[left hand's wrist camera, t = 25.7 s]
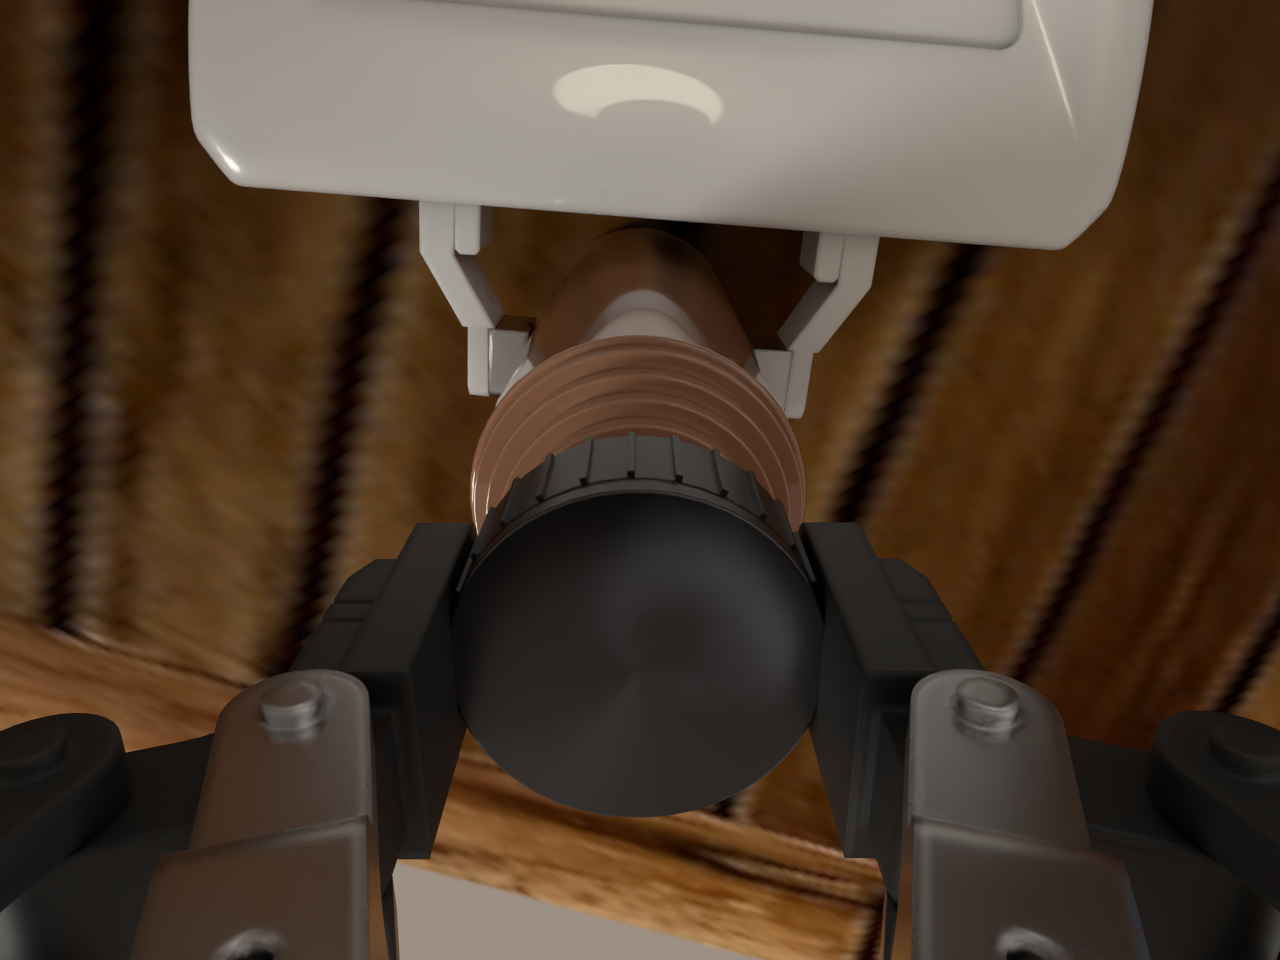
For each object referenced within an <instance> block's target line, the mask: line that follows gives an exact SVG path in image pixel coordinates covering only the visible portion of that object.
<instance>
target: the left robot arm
mask: <svg viewBox="0 0 1280 960" xmlns="http://www.w3.org/2000/svg"><path fill="white" fill-rule="evenodd" d="M798 533H799V536H800V539H801V541H802V544H803V546H804V549H805V552H806V554H807V557H808V559H809V562H810V565H811V567H812V570H813V572H814V575H815V578H816V580H817V583H818V586H816V587H814V591H815V593H816V596H817V599H818V601H819V604H820V607H821V609H822V612H823V616H824V638H823V650H822V662H821V673H820V685H819V696H818V706H817V710H816V712H815V714H814V717H813V719H812V721H811V722H810V724H809V726H808V727H809V731H810V735H811V738H812V742H813V745H814V749H815V753H816V756H817V760H818V763H819V767H820V771H821V774H822V778H823V782H824V785H825V789H826V792H827V796H828V800H829V803H830V807H831V810H832V814H833V818H834V821H835V825H836V829H837V832H838V836H839V839H840V843H841V847H842V850H843V854H844V857H845V858H876V859H877V862H878V865H879V868H880V871H881V874H882V877H883V881H884V883H885V886H886V893H885V900H884V908H883V924H882V942H881V959H880V960H1278V959H1277V956H1278V953H1279V950H1280V731H1279V730H1277V729H1275V728H1272V727H1270V726H1267V725H1265V724H1262V723H1260V722H1257V721H1254V720H1251V719H1247V718H1244V717H1240V716H1236V715H1232V714H1227V713H1220V712H1213V711H1187V712H1180V713H1177V714H1174V715H1170V716H1169V717H1167V718H1165V719H1164V720H1163V721H1162V722H1161V723H1160V724H1159V725H1158V727H1157V730H1156V733H1155V737H1154V741H1153V745H1152V749H1151V752H1146V751H1141V750H1136V749H1131V748H1126V747H1121V746H1116V745H1111V744H1106V743H1101V742H1096V741H1091V740H1086V739H1082V738H1078V737H1074V736H1071V735H1068V734H1066V733H1065V728H1064V724H1063V720H1062V718H1061V715H1060V713H1059V712H1058V710H1057V709H1056V707H1055V706H1054V705H1053V704H1052V703H1051V702H1050V701H1049V700H1048V699H1047V698H1046V697H1044V696H1043V695H1042V694H1041V693H1039V692H1038V691H1036V690H1034V689H1033V688H1031V687H1030V686H1028V685H1025V684H1023V683H1021V682H1019V681H1017V680H1014V679H1012V678H1009V677H1006V676H1003V675H999V674H996V673H991V672H986V671H985V669H984V667H983V666H982V664H981V663H980V661H979V659H978V658H977V656H976V655H975V653H974V651H973V650H972V648H971V647H970V645H969V643H968V642H967V640H966V639H965V637H964V635H963V634H962V632H961V631H960V629H959V628H958V626H957V624H956V623H955V622H952V616H951V615H950V613H949V612H948V610H947V608H946V607H945V605H944V604H943V603H941V599H940V597H939V596H938V594H937V592H936V591H935V589H934V588H933V586H932V585H931V583H930V581H929V580H928V578H927V577H926V576H924V575H923V574H921V573H920V572H918V571H917V570H915V569H914V568H912V567H911V566H909V565H908V564H906V563H905V562H904V561H902V560H901V559H878V558H877V556H876V554H875V552H874V551H873V549H872V547H871V545H870V543H869V541H868V539H867V538H866V536H865V534H864V532H863V530H862V528H861V527H860V525H859V524H858V523H801V524H800V527H799V530H798ZM477 538H478V534H477V530H476V526H475V524H474V523H418V524H416V526H415V527H414V529H413V531H412V533H411V534H410V536H409V538H408V540H407V542H406V543H405V545H404V547H403V549H402V551H401V552H400V554H399V556H398V558H397V559H375V560H374V561H372V562H371V563H369V564H368V565H366V566H365V567H363V568H362V569H360V570H359V571H357V572H356V573H354V574H353V575H351V576H350V577H349V578H347V580H346V582H345V583H344V585H343V586H342V588H341V589H340V591H339V593H338V594H337V596H336V597H335V599H334V604H331V605H330V607H329V608H328V610H327V611H326V613H325V614H324V616H323V618H322V623H319V624H318V625H317V627H316V629H315V630H314V632H313V633H312V635H311V636H310V638H309V640H308V641H307V643H306V644H305V646H304V647H303V649H302V650H301V652H300V654H299V655H298V657H297V658H296V660H295V661H294V663H293V665H292V666H291V668H290V669H289V671H288V672H287V673H284V674H281V675H277V676H274V677H271V678H268V679H266V680H263V681H261V682H259V683H257V684H255V685H252V686H250V687H249V688H247V689H246V690H244V691H242V692H241V693H239V694H238V695H237V696H236V697H234V698H233V699H232V700H231V701H230V702H229V703H228V704H227V705H226V706H225V707H224V709H223V710H222V712H221V713H220V715H219V718H218V720H217V724H216V728H215V733H212V734H209V735H206V736H203V737H199V738H195V739H191V740H187V741H183V742H178V743H173V744H168V745H163V746H158V747H152V748H147V749H142V750H137V751H132V752H127V753H125V749H124V745H123V741H122V737H121V733H120V731H119V728H118V727H117V725H116V724H115V723H114V722H112V721H111V720H109V719H107V718H105V717H102V716H99V715H94V714H88V713H68V714H58V715H52V716H46V717H42V718H38V719H34V720H30V721H27V722H24V723H21V724H18V725H15V726H12V727H10V728H7V729H5V730H2V731H0V960H399V942H398V924H397V908H396V900H395V893H394V885H393V878H392V874H393V870H394V868H395V864H396V861H397V859H429V858H430V855H431V851H432V848H433V844H434V841H435V837H436V834H437V830H438V827H439V823H440V820H441V816H442V813H443V809H444V806H445V802H446V799H447V795H448V792H449V788H450V785H451V781H452V778H453V774H454V770H455V767H456V763H457V760H458V756H459V753H460V749H461V746H462V742H463V739H464V735H465V732H466V728H467V726H466V724H465V722H464V721H463V719H462V717H461V714H460V712H459V710H458V706H457V697H456V685H455V674H454V663H453V651H452V640H451V627H450V621H451V616H452V611H453V609H454V606H455V603H456V601H457V598H458V597H456V589H457V586H458V584H459V581H460V578H461V576H462V573H463V571H464V568H465V566H466V563H467V560H468V558H469V555H470V553H471V550H472V548H473V545H474V543H475V540H476V541H477Z"/></svg>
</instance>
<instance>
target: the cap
mask: <svg viewBox="0 0 1280 960" xmlns="http://www.w3.org/2000/svg"><path fill="white" fill-rule="evenodd" d="M816 586H818V583H817V580H816V578H815V575H814V572H813V570H812V567H811V565H810V562H809V559H808V557H807V554H806V552H805V549H804V546H803V544H802V541H801V539H800V536H799V533H798V531H796V532H793V531H792V529H791V526H790V523H789V521H788V518H787V515H786V513H785V510H784V507H783V505H782V502H781V501H780V499H779V498H777V499H775V500H774V499H773V498H772V497H771V495H770V494H769V493H768V491H767V490H765V489H764V488H763V487H762V486H761V485H760V484H759V483H758V482H757V480H756V477H755V474H754V472H753V471H751V470H750V469H749V470H748V471H747V472H746V471H744V470H743V469H742V468H740V467H739V466H738V465H736V464H735V463H733V462H731V461H729V460H728V459H726V458H724V457H722V456H721V455H720V451H719V450H718V449H716V448H713V450H712V451H710V450H707V449H705V448H702V447H700V446H697V445H695V444H691V443H687V442H683V441H679V436H675V435H672V438H671V439H670V438H664V437H655V436H636V435H635V432H629V434H628V436H621V437H613V438H604V439H600V440H596V441H593V439H592V437H591V438H587V439H586V440H585V443H584V444H581V445H578V446H576V447H573V448H571V449H568V450H565V451H563V452H560V453H559V454H557V455H555V456H554V455H553V454H552V453H550V454H548V455H546V458H545V461H544V462H542V463H541V464H539V465H538V466H537V467H535V468H534V469H532V470H531V471H530V472H528V473H527V474H526V475H524V476H523V477H522V478H521V479H520V478H519V477H518V476H517V477H516V478H515V479H514V480H513V482H512V485H511V487H510V490H509V491H508V492H507V493H506V495H505V496H504V497H503V499H502V500H501V501H500V502H499V504H498V505H497V506H496V508H494V507H492V506H491V507H490V509H489V510H488V513H487V515H486V518H485V520H484V523H483V525H482V528H481V530H480V533H479V536H478V538H477V541H476V540H475V543H474V545H473V548H472V550H471V553H470V555H469V558H468V560H467V563H466V566H465V568H464V571H463V573H462V576H461V578H460V581H459V584H458V586H457V589H456V597H458V598H457V601H456V603H455V606H454V609H453V611H452V616H451V621H450V627H451V640H452V651H453V663H454V674H455V685H456V697H457V706H458V710H459V712H460V714H461V717H462V719H463V721H464V722H465V724H466V726H467V727H468V729H469V731H470V733H471V734H472V736H473V737H474V739H475V740H476V741H477V742H478V744H479V745H480V746H481V748H482V749H483V750H484V751H485V753H486V754H487V755H488V756H489V757H490V758H491V759H492V760H493V761H494V762H495V763H496V764H497V765H498V766H499V767H500V768H501V769H503V770H504V771H505V772H507V773H508V774H509V775H510V776H512V777H513V778H514V779H516V780H517V781H518V782H520V783H521V784H523V785H525V786H526V787H528V788H530V789H531V790H533V791H535V792H536V793H538V794H540V795H542V796H545V797H547V798H549V799H551V800H553V801H556V802H558V803H560V804H564V805H567V806H570V807H573V808H576V809H579V810H583V811H587V812H592V813H597V814H601V815H609V816H619V817H656V816H666V815H674V814H679V813H683V812H688V811H693V810H696V809H699V808H703V807H706V806H709V805H712V804H715V803H717V802H720V801H722V800H724V799H726V798H728V797H731V796H733V795H735V794H737V793H739V792H740V791H742V790H744V789H746V788H747V787H749V786H751V785H752V784H754V783H756V782H757V781H758V780H760V779H761V778H762V777H763V776H765V775H766V774H767V773H769V772H770V771H771V770H773V769H774V768H775V767H776V766H777V765H778V764H779V763H780V762H781V761H782V760H783V759H784V758H785V757H786V756H787V755H788V754H789V753H790V751H791V750H792V749H793V748H794V746H795V745H796V744H797V743H798V741H799V740H800V739H801V737H802V736H803V734H804V733H805V731H806V729H807V727H808V726H809V724H810V722H811V721H812V719H813V717H814V714H815V712H816V710H817V706H818V696H819V685H820V673H821V662H822V650H823V638H824V616H823V612H822V609H821V607H820V604H819V601H818V599H817V596H816V593H815V591H814V587H816Z"/></svg>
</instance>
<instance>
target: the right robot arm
mask: <svg viewBox="0 0 1280 960" xmlns="http://www.w3.org/2000/svg"><path fill="white" fill-rule="evenodd" d="M1153 4H1154V0H189V13H188V52H189V86H190V105H191V118H192V123H193V128H194V132H195V134H196V137H197V139H198V141H199V142H200V144H201V145H202V146H203V148H204V149H205V150H206V151H207V153H208V154H209V155H210V157H211V158H212V159H213V160H214V162H215V163H216V164H217V166H218V167H219V168H220V169H221V171H222V172H223V173H224V174H225V175H226V176H227V177H228V178H229V180H230V181H232V182H233V183H235V184H237V185H239V186H245V187H255V188H268V189H280V190H293V191H306V192H318V193H331V194H344V195H357V196H369V197H382V198H395V199H407V200H419V220H420V253H421V255H422V256H423V258H424V260H425V262H426V263H427V265H428V267H429V268H430V270H431V272H432V274H433V275H434V277H435V279H436V281H437V282H438V284H439V286H440V288H441V289H442V291H443V293H444V295H445V296H446V298H447V300H448V302H449V303H450V305H451V307H452V308H453V310H454V312H455V314H456V315H457V317H458V319H459V321H460V322H461V324H462V326H465V327H468V389H469V393H470V394H473V395H481V396H500V395H501V393H502V391H503V389H504V387H505V385H506V383H507V381H508V379H509V378H510V376H511V374H512V372H513V370H514V368H515V366H516V364H517V362H518V360H519V358H520V356H521V354H522V352H523V350H524V348H525V346H526V344H527V342H528V340H529V338H530V336H531V334H532V332H533V330H534V329H535V327H536V318H532V317H522V316H512V315H504V314H505V312H504V310H503V308H502V306H501V304H500V302H499V300H498V298H497V297H496V295H495V293H494V291H493V289H492V287H491V285H490V283H489V281H488V279H487V277H486V275H485V273H484V271H483V269H482V267H481V265H480V263H479V261H478V259H477V257H476V254H477V253H478V252H479V251H481V250H482V249H483V248H484V247H485V246H487V245H488V244H489V243H490V242H491V241H493V231H494V206H496V207H509V208H522V209H535V210H547V211H560V212H573V213H585V214H598V215H611V216H624V217H636V218H649V219H662V220H674V221H687V222H700V223H712V224H725V225H738V226H751V227H763V228H776V229H789V230H801V231H803V238H802V246H801V254H800V262H799V264H800V265H801V267H802V268H803V269H804V270H805V271H806V272H808V273H809V274H810V275H811V276H812V277H813V278H815V281H814V282H813V284H812V285H811V286H810V288H809V289H808V291H807V292H806V293H805V295H804V296H803V298H802V299H801V300H800V302H799V303H798V304H797V306H796V307H795V309H794V310H793V311H792V313H791V314H790V316H789V317H788V318H787V320H786V321H785V323H784V324H783V325H782V327H781V328H780V330H779V331H778V332H777V335H761V334H746V336H747V338H748V340H749V342H750V344H751V346H752V348H753V350H754V352H755V354H756V356H757V358H758V360H759V362H760V364H761V366H762V368H763V370H764V372H765V374H766V376H767V378H768V380H769V382H770V384H771V386H772V388H773V390H774V392H775V394H776V396H777V398H778V400H779V402H780V404H781V406H782V408H783V410H784V412H785V414H786V416H787V418H797V419H800V418H801V417H802V415H803V412H804V409H805V404H806V398H807V391H808V384H809V378H810V371H811V364H812V358H813V353H819V352H820V350H821V349H822V348H823V347H824V345H825V344H826V343H827V342H828V340H829V339H830V338H831V337H832V335H833V334H834V333H835V332H836V330H837V329H838V328H839V327H840V325H841V324H842V323H843V322H844V320H845V319H846V318H847V317H848V315H849V314H850V313H851V312H852V310H853V309H854V308H855V307H856V305H857V304H858V303H859V302H860V300H861V299H862V298H863V297H864V295H865V294H866V293H867V292H868V290H869V289H870V288H871V284H872V279H873V273H874V267H875V261H876V256H877V250H878V244H879V238H880V237H890V238H903V239H916V240H929V241H941V242H954V243H967V244H979V245H992V246H1005V247H1018V248H1031V249H1044V250H1060V249H1063V248H1065V247H1067V246H1068V245H1070V244H1071V243H1072V242H1073V241H1074V240H1075V239H1077V238H1078V237H1079V236H1080V235H1081V234H1082V233H1083V232H1084V231H1085V230H1086V229H1087V228H1088V227H1089V226H1090V225H1091V224H1092V223H1093V222H1094V221H1095V220H1096V219H1097V218H1098V217H1099V216H1100V215H1101V214H1102V213H1103V212H1104V211H1105V210H1106V209H1107V207H1108V206H1109V204H1110V202H1111V200H1112V198H1113V195H1114V193H1115V190H1116V188H1117V185H1118V181H1119V178H1120V175H1121V171H1122V167H1123V163H1124V159H1125V155H1126V151H1127V147H1128V144H1129V139H1130V135H1131V130H1132V126H1133V121H1134V117H1135V112H1136V107H1137V102H1138V97H1139V92H1140V87H1141V82H1142V76H1143V70H1144V64H1145V58H1146V52H1147V46H1148V40H1149V33H1150V25H1151V18H1152V11H1153Z"/></svg>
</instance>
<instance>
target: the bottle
mask: <svg viewBox="0 0 1280 960" xmlns="http://www.w3.org/2000/svg"><path fill="white" fill-rule="evenodd" d="M629 432H635V435H636V436H655V437H664V438H670V439H671V438H672V435H675V436H679V441H683V442H687V443H691V444H695V445H697V446H700V447H702V448H705V449H707V450H710V451H712V450H713V448H716V449H718V450H719V451H720V455H721V456H722V457H724V458H726V459H728V460H729V461H731V462H733V463H735V464H736V465H738V466H739V467H740V468H742V469H743V470H744V471H746V472H747V471H748V470H749V469H750V470H751V471H753V472H754V474H755V477H756V480H757V482H758V483H759V484H760V485H761V486H762V487H763V488H764V489H765V490H767V491H768V493H769V494H770V495H771V497H772V498H773V499H774V500H775V499H777V498H779V499H780V501H781V502H782V505H783V507H784V510H785V513H786V515H787V518H788V521H789V523H790V526H791V529H792V531H793V532H796V531H798V530H799V527H800V524H801V523H803V520H804V513H805V507H806V484H807V483H806V475H805V467H804V461H803V457H802V453H801V450H800V446H799V442H798V440H797V438H796V435H795V433H794V431H793V429H792V426H791V424H790V422H789V420H788V418H787V416H786V414H785V412H784V410H783V408H782V406H781V404H780V402H779V400H778V398H777V396H776V394H775V392H774V390H773V388H772V386H771V384H770V382H769V380H768V378H767V376H766V374H765V372H764V370H763V368H762V366H761V364H760V362H759V360H758V358H757V356H756V354H755V352H754V350H753V348H752V346H751V344H750V342H749V340H748V338H747V336H746V334H745V332H744V330H743V328H742V326H741V324H740V322H739V320H738V318H737V316H736V314H735V312H734V310H733V308H732V306H731V304H730V302H729V300H728V298H727V296H726V294H725V292H724V290H723V288H722V286H721V284H720V282H719V280H718V278H717V276H716V274H715V272H714V270H713V269H712V267H711V265H710V264H709V263H708V262H707V260H706V259H705V258H704V257H703V255H702V254H701V253H699V252H698V251H697V250H696V249H695V248H694V247H693V246H691V245H690V244H689V243H687V242H686V241H684V240H682V239H681V238H679V237H677V236H675V235H672V234H670V233H667V232H664V231H660V230H656V229H650V228H628V229H622V230H617V231H614V232H611V233H608V234H605V235H603V236H601V237H599V238H597V239H595V240H594V241H592V242H591V243H589V244H588V245H586V246H585V247H584V248H583V249H582V250H581V251H580V252H578V253H577V254H576V256H575V257H574V258H573V259H572V260H571V261H570V263H569V264H568V266H567V267H566V269H565V270H564V272H563V274H562V276H561V278H560V280H559V281H558V283H557V285H556V287H555V289H554V291H553V293H552V295H551V297H550V299H549V301H548V303H547V305H546V307H545V309H544V311H543V313H542V315H541V317H540V319H539V321H538V323H537V325H536V327H535V329H534V330H533V332H532V334H531V336H530V338H529V340H528V342H527V344H526V346H525V348H524V350H523V352H522V354H521V356H520V358H519V360H518V362H517V364H516V366H515V368H514V370H513V372H512V374H511V376H510V378H509V379H508V381H507V383H506V385H505V387H504V389H503V391H502V393H501V395H500V397H499V399H498V401H497V403H496V405H495V407H494V409H493V411H492V413H491V415H490V417H489V419H488V421H487V423H486V425H485V427H484V429H483V431H482V434H481V436H480V438H479V441H478V444H477V447H476V451H475V454H474V457H473V463H472V470H471V476H470V503H471V511H472V519H473V522H474V524H475V526H476V530H477V534H478V536H479V533H480V530H481V528H482V525H483V523H484V520H485V518H486V515H487V513H488V510H489V509H490V507H491V506H492V507H494V508H496V506H497V505H498V504H499V502H500V501H501V500H502V499H503V497H504V496H505V495H506V493H507V492H508V491H509V490H510V487H511V485H512V482H513V480H514V479H515V478H516V477H517V476H518V477H519V478H520V479H521V478H522V477H523V476H524V475H526V474H527V473H528V472H530V471H531V470H532V469H534V468H535V467H537V466H538V465H539V464H541V463H542V462H544V461H545V458H546V455H548V454H550V453H552V454H553V455H554V456H555V455H557V454H559V453H560V452H563V451H565V450H568V449H571V448H573V447H576V446H578V445H581V444H584V443H585V440H586V439H587V438H591V437H592V439H593V441H596V440H600V439H604V438H613V437H621V436H628V434H629Z"/></svg>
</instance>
